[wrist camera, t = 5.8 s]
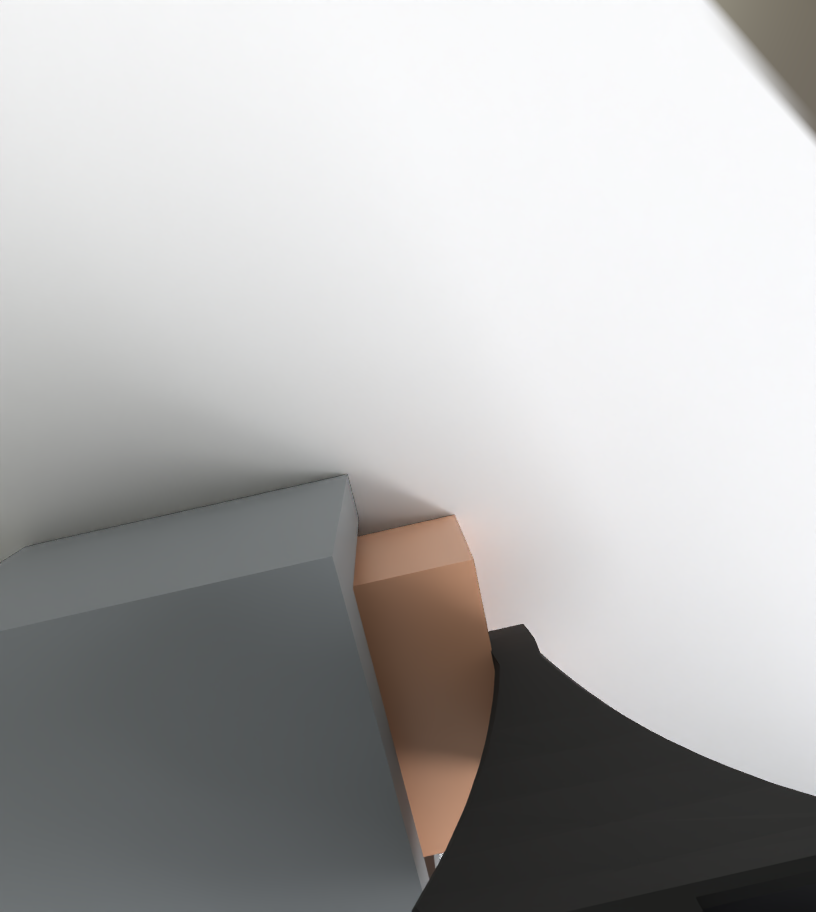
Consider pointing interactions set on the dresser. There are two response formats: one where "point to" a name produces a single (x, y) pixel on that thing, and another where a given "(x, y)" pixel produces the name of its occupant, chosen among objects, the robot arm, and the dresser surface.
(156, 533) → the block
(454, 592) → the slab
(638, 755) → the robot arm
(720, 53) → the dresser surface
